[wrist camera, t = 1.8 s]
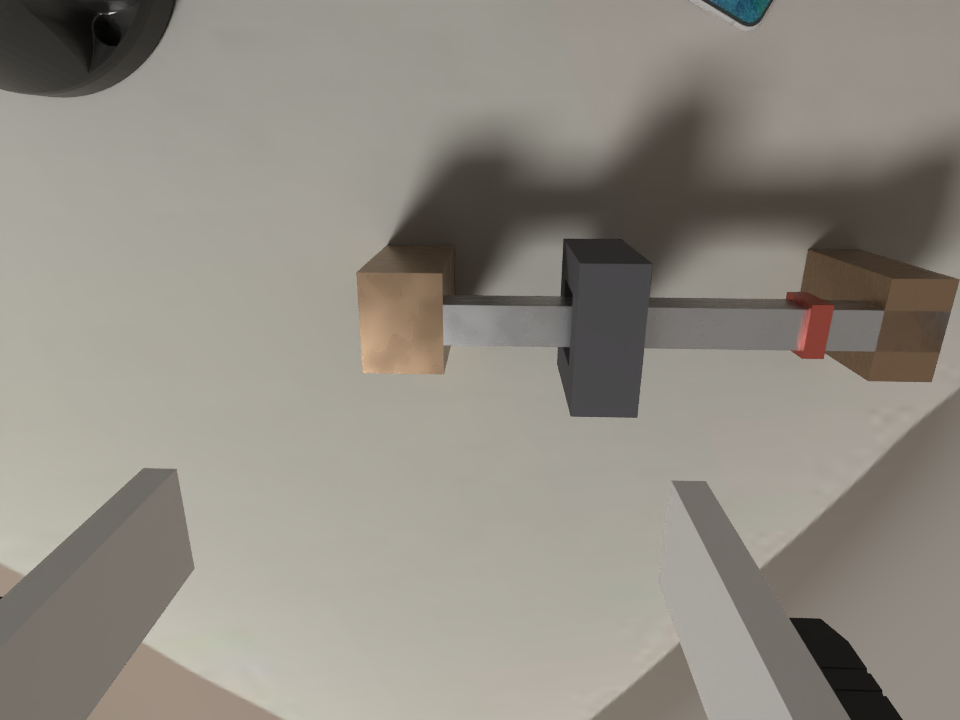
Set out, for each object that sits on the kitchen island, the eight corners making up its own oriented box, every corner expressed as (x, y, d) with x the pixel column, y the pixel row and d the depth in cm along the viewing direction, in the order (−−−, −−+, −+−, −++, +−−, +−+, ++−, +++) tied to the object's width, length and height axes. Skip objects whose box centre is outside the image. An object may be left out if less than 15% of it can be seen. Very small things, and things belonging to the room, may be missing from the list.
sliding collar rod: (386, 245, 36) (355, 273, 28) (861, 250, 35) (964, 280, 27) (390, 326, 38) (361, 375, 30) (843, 333, 37) (935, 384, 29)
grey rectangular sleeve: (563, 238, 32) (580, 263, 25) (621, 239, 32) (652, 264, 25) (557, 364, 34) (570, 416, 28) (610, 364, 34) (637, 417, 28)
